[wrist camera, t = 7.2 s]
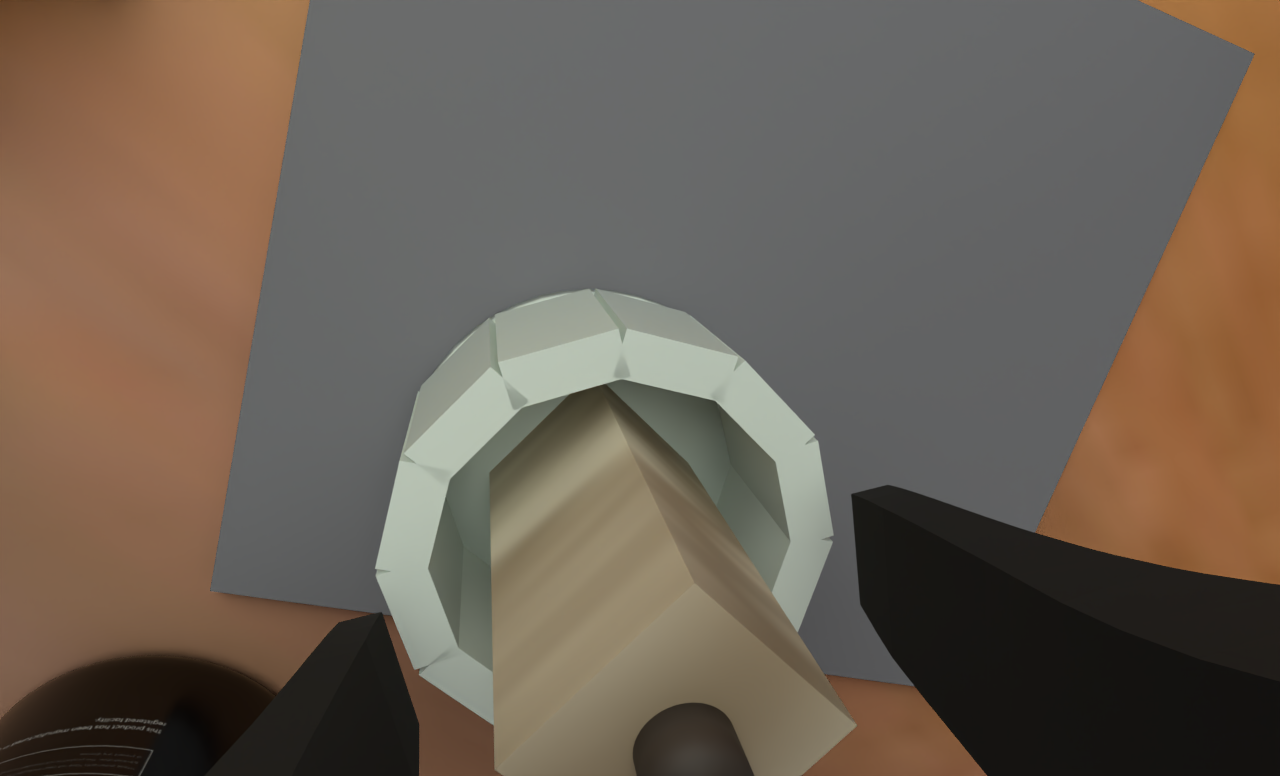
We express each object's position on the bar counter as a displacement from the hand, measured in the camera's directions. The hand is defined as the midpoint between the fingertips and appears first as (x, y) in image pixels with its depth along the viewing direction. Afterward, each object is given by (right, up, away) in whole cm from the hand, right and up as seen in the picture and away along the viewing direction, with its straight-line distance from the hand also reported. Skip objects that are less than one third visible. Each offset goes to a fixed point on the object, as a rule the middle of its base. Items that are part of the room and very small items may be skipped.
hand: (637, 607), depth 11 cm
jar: (-1, +2, +5) cm, 6 cm away
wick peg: (-1, +2, +5) cm, 5 cm away
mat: (+2, +5, +5) cm, 8 cm away
